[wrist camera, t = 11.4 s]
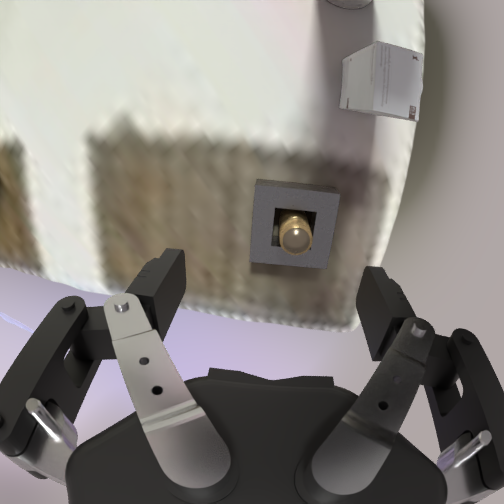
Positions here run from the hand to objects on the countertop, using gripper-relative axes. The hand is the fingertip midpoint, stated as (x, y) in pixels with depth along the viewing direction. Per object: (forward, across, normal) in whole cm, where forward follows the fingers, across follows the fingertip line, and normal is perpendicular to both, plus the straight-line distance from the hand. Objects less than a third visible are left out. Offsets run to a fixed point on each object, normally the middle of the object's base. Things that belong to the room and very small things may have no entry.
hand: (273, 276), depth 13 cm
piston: (+32, -4, +10) cm, 34 cm away
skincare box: (+33, -12, -12) cm, 37 cm away
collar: (+32, -3, +10) cm, 34 cm away
